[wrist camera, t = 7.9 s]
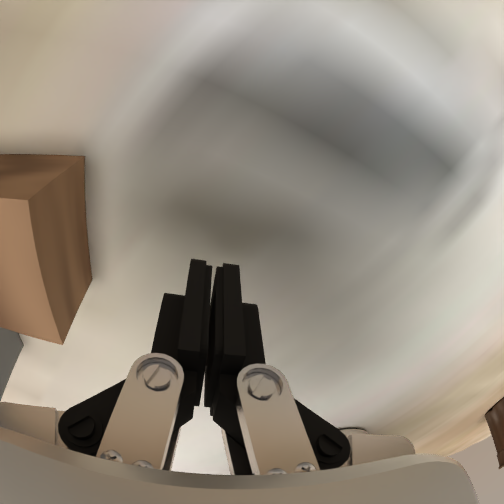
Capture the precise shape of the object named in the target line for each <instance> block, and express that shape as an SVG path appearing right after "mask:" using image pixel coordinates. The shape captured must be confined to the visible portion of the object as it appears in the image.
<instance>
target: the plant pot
mask: <svg viewBox="0 0 504 504" xmlns="http://www.w3.org/2000/svg"><path fill="white" fill-rule="evenodd" d="M485 418H486V420H487V423H488V426H489V428H490V431H491V434H492V437H493V440H494V444H495V447H496V450H497V457H498V461H499V469H500V468H502V467H504V397H503V398H502V399H501V400H500V401H499V402H498V403H497V404H496V405H495V406H493V409H492V410H490V411H488V412H487V414H486V415H485Z"/></svg>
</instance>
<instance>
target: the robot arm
mask: <svg viewBox="0 0 504 504" xmlns="http://www.w3.org/2000/svg"><path fill="white" fill-rule="evenodd" d="M211 277H212V266H209V265H206V261H204V260H196V259H191V263H190V269H189V275H188V281H187V287H186V294H185V296H183V295H176V294H169V293H164V296H163V300H162V305H161V309H160V313H159V318H158V322H157V327H156V332H155V336H154V341H153V346H152V351H151V353H150V354H146V355H143V356H141V357H140V358H138V359H137V360H136V361H135V362H134V363H133V365H132V367H131V369H130V371H129V374H128V376H127V378H126V379H125V380H123V381H121V382H119V383H117V384H116V385H114V386H112V387H110V388H108V389H106V390H104V391H102V392H100V393H98V394H97V395H95V396H93V397H91V398H89V399H87V400H85V401H83V402H81V403H79V404H77V405H75V406H73V407H71V408H69V409H68V410H67V411H57V410H56V408H49V407H39V406H30V405H22V404H15V403H8V402H0V504H480V503H479V500H478V498H477V494H476V492H475V489H474V487H473V484H472V482H471V480H470V478H469V476H468V474H467V472H466V471H465V469H464V468H463V466H462V465H461V464H460V463H459V462H457V461H456V460H454V459H452V458H449V457H446V456H442V455H436V454H415V450H414V446H413V444H412V443H411V442H410V440H408V439H407V438H405V437H402V436H394V435H374V434H367V432H366V431H365V430H361V429H344V430H339V429H337V428H336V427H334V426H333V425H331V424H330V423H328V422H327V421H325V420H324V419H322V418H321V417H320V416H318V415H317V414H315V413H314V412H312V411H311V410H310V409H308V408H307V407H305V406H304V405H303V404H301V403H300V402H298V401H297V400H296V399H294V398H293V395H292V392H291V390H290V387H289V384H288V381H287V380H286V378H285V376H284V375H283V374H282V373H281V372H280V371H279V370H278V369H276V368H274V367H273V366H270V365H266V364H265V357H264V349H263V342H262V334H261V327H260V320H259V312H258V307H257V305H256V304H248V303H242V297H241V283H240V269H239V265H233V264H226V263H223V267H217V268H216V274H215V279H214V285H213V291H212V297H211V303H210V295H211ZM204 373H205V390H204V407H210V416H213V421H214V422H216V423H217V424H218V425H219V426H220V427H221V429H222V437H223V442H224V447H225V451H226V456H227V460H228V465H229V469H230V474H231V475H212V474H196V473H185V472H175V471H171V468H172V464H173V460H174V455H175V451H176V447H177V443H178V438H179V434H180V430H181V426H182V425H184V424H185V423H187V422H188V421H189V420H191V419H192V418H193V410H194V406H199V404H200V398H201V392H202V386H203V379H204Z"/></svg>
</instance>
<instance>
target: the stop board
mask: <svg viewBox="0 0 504 504" xmlns="http://www.w3.org/2000/svg"><path fill="white" fill-rule="evenodd" d="M23 346H24V345H23V343H22V341H21V339H20V337H19V335H18V333H17V332H14V331H11V330H8V329H5V328H2V327H0V401H1V398H2V395H3V393H4V390H5V387H6V385H7V382H8V380H9V377H10V375H11V373H12V370H13V368H14V366H15V363H16V361H17V359H18V356H19V354H20V352H21V350H22V348H23Z"/></svg>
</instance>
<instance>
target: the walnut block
mask: <svg viewBox="0 0 504 504" xmlns="http://www.w3.org/2000/svg"><path fill="white" fill-rule="evenodd" d="M84 162H85V156H68V155H37V154H0V327H2V328H5V329H8V330H11V331H14V332H18V333H21V334H24V335H28V336H31V337H35V338H38V339H42V340H45V341H49V342H53V343H57V344H61V345H63V343H64V341H65V339H66V336H67V334H68V331H69V329H70V327H71V324H72V322H73V320H74V318H75V315H76V313H77V311H78V309H79V306H80V304H81V302H82V300H83V298H84V296H85V294H86V292H87V290H88V287H89V285H90V283H91V281H92V273H91V265H90V257H89V247H88V237H87V224H86V208H85V175H84Z"/></svg>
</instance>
